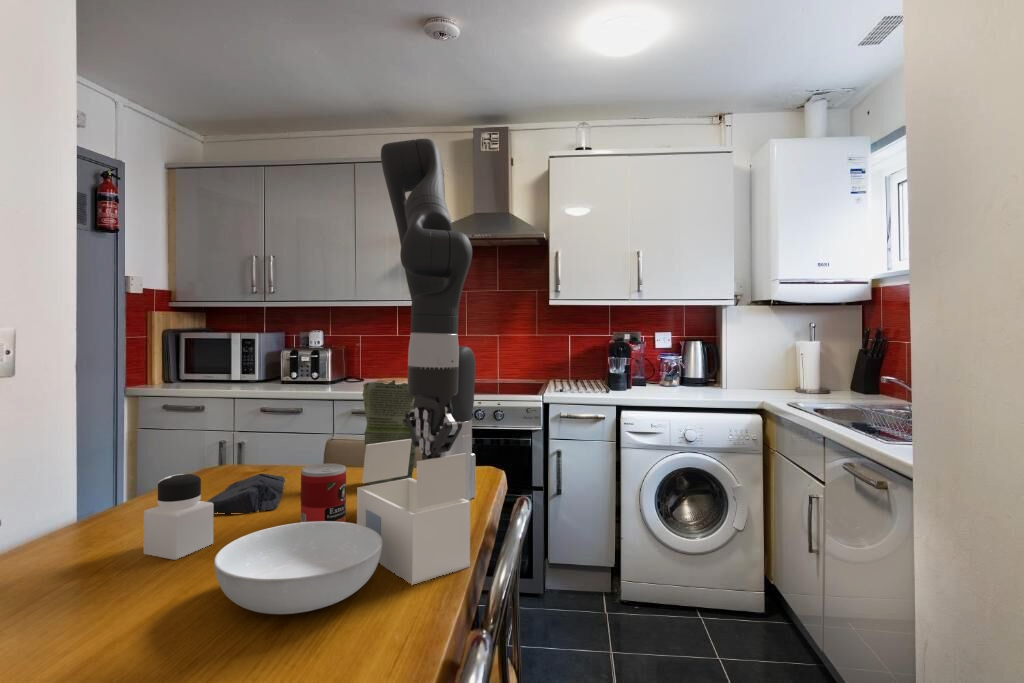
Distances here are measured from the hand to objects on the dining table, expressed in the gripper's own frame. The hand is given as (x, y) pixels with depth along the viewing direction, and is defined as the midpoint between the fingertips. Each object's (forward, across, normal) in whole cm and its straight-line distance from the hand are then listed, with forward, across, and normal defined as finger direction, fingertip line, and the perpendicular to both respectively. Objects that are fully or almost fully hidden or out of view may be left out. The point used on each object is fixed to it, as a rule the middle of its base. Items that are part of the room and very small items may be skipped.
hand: (430, 478), depth 81 cm
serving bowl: (+14, +4, +17) cm, 23 cm away
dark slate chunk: (+16, +55, +11) cm, 59 cm away
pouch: (+15, +47, -18) cm, 52 cm away
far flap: (0, +14, 0) cm, 14 cm away
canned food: (+15, +28, +6) cm, 32 cm away
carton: (+14, +6, 0) cm, 15 cm away
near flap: (0, -3, 0) cm, 3 cm away
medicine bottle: (+15, +32, +28) cm, 45 cm away
